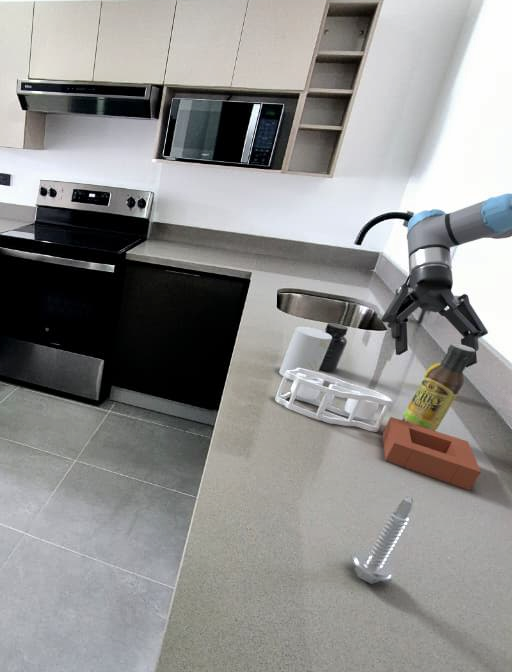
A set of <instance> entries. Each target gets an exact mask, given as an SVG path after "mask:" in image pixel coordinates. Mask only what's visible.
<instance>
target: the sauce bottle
mask: <svg viewBox="0 0 512 672" xmlns="http://www.w3.org/2000/svg"><path fill="white" fill-rule="evenodd" d="M474 353H475V350H474V349H473V348H471V347H468V346H465V345H462V344H461V343H456V342H455V343H454V342H453V343H451V344H449V346H448V348H447V352H446V354H445V356H444V357H443V359H441V362H440V363H441V364H440V365H438V366H437V367H435V368H433V369H431V370H430V371H429V372H428V374H427V376H426V377H425V378H424V377H423V380H422V381H421V383H420V385H419V386H418V388H417V390H416V392H415V394H414V395H413V397H412V399H411V401H410V402H409V404H408V406H407V408H406V409H405V412H404V413H403V415H402V419H401V420H402V421H405V422H408V423H412V424H415V425H418V426H421V427H424V428H427V429H430V430H433V431H437V430H438V428H439V426H440V425H441V423H442V422H443V420H444V418H445V416H446V415H447V413H448V411H449V410H450V408H451V407H452V405H453V403H454V401H455V400H456V399H457V397H458V395H459V392H460V390H461V389H462V388H463V386H464V382H465V377H464V373H463V372H464V370H465V369H466V367H465V366H466V365H467V363H468V361H469V360H470V358H472V357H473V355H474Z"/></svg>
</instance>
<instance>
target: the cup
mask: <svg viewBox="0 0 512 672" xmlns="http://www.w3.org/2000/svg"><path fill="white" fill-rule="evenodd" d="M331 339H332V336H331V335H330V334H328V333H326V331H323V330H321V329H318V328H315V327H314V328H313V327H309V326H296V327H295V329H294V332H293V334H292V337H291V340H290V342H289V345H288V348H287V351H286V353H285V355H284V359H283V361H282V363H281V366H280V368H279V374H280V375H281V376H282V377H284V374H285V373H286V371H287V370H294V369H296V368H303V369H307V370H311V371H315V372H319V371H320V370H319V368H320V366H321V363H322V361H323V359H324V356H325V354H326V351H327V349H328V347H329V344H330V342H331ZM287 380H290V381H292V382H294V380H292V379H289V378H287Z"/></svg>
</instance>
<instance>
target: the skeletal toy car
mask: <svg viewBox="0 0 512 672" xmlns="http://www.w3.org/2000/svg"><path fill="white" fill-rule="evenodd" d="M287 378H289V379H292V380H294V381H292V380H291V381H292V385H291V387H290V391H291V392H290V391H288V392H286V393H284V394H282V393H283V390H284V388H285V385H286V383H287V381H288V380H289V379H287ZM325 381H326V382H329V383H330V384H329V385H328V387H327V386H324V384H325ZM280 382H281V383H280V385H279V387H278V390H277V393H276V394H275V398H274V401H275V402H276V403H278V404H279V405H282V406H284V407H285V408H286V409H288V410H290V411H293V412H296V413H298V414H300V415H303V416H305V417H309V418H311V419H314V420H317V421H321V422H325V423H327V424H331V425H332V424H333V425H339V426H344V427H355V428H356V427H357V428H360V429H363V430H366V431H369V432H372V433H373V432H374V433H377V432H379V429H380V427H381V424H382V422H383V420H384V418H385V417H386V414H387V412H388V410H389V408H390V406H391V405H392V403H393V402H394V401H393V399H391V398H390V397H389V396H387V395H386V394H383V393H381V392H378V391H376V390H374V389H372V388H368V387H364V386H361V385H358V384H353V383H350V382H347V381H344V380H342V379H339V378H337V377H334V376H331V375H328V374H325V373H322V372H319V371H318V372H315V371H311V370H307V369H303V368H296V369H294V370H287V371H286V373H285V374H284V376H282V380H281V381H280ZM320 393H324V395H323V397H322V400H319V399H318V398H319V395H320ZM335 397H338V398H342V399H346V402H345V404H344V406H343V409H342V408H338V407H336V406H333V405H332V403H333V401H334V398H335ZM288 398H289V401H288ZM295 400H298V401H301V402H305V403H308V404H311V405H314V406H317V407H318V409H317V411H316V412H314V411H311V410H308V409H305V408H303V407H300V406H297V405H295V404H294V402H295ZM380 405H381V406H383V407H382V410H381V412H380V414H379V416H378V418H377V420H376V422H375V421H374V420H373V419H374V417H375V415H376V413H377V411H378V409H379V407H380Z"/></svg>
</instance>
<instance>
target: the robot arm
mask: <svg viewBox="0 0 512 672" xmlns="http://www.w3.org/2000/svg"><path fill="white" fill-rule="evenodd" d="M511 237H512V193H510V192H509V193H508V192H507V193H503V194H501V195H497V196H492V197H489V198H487V199H485V200H482V201H479V202H477V203H475V204H472V205H468V206H467V207H466V206H465V207H463V208H460V209H458V210H455V211H453V212H448V213H446V212H445V211H444V210H442V209H437V208H433V209H431V210H428V209H427V210H422V211H419V212H417V213H415V214H414V215H413V216H412V217H411V218H410V219H409V220H408V223H407V232H406V240H407V253H408V272H409V273H408V274H409V280H408V281H409V285H408V284H407V283H403V284H401V286H399V287H398V288H397V289H395V293H394V294H395V295H394V298H393V300H392V301H391V303H390V304H389V306H388V307H387V309H386V311H385V312H384V313H383V315H382V317H381V319H380V321H381V322H382V323H387V327H388V329H391V331H390V332H391V333H390V334H391V338H392V339H394V341H395V342H394V343H395V344H394V345H395V347H394V348H395V355H396V356H400V355H402V354H404V353H406V352H407V351H408V350H409V346H408V342H409V341H408V323H407V322H404V320H405V319H407V318H408V317H409V316H411V314H412V313H414V312H415V311H416V310H417V309H418V308H419V309H420V310H422V311H430V312H432V313H438V314H439V315H440V316H441V317H444V318H445V319H446V320H447V321H448V322H449V323H450V324H451V325H452V326H453V327H454V329H455V330H456V331H458V333H459V334H461V336H462V337H463V338H461V339H460V344H462V345H465V346H468V347H471V348H473V349H474V350H475V353H474V355H473V357H472V358H470V360H469V361H468V363H467V365H466V366H465V368H469V367H471V366H473V365H475V364H476V365H477V363H478V358H477V357H478V356H477V351H479V350H480V349H479V348H480V347H479V339H480V338H482V337H484V336H486V335H488V334H489V331H488V329H487V328H486V326H485V324H484V323H483V321H482V320H481V318H480V316H479V315H478V314H477V312H476V310H475V308H474V307H473V306H472V304H471V302H470V298H469V295H468V294H466V293H463V294H462V295H455V294H454V293H453V291H452V289H453V286H454V285H453V284H454V279H453V271H452V269H453V265H452V256H451V248H454V247H458V246H461V245H463V244H468V243H471V242H474V241H478V240H481V239H494V240H500V239H508V238H511ZM408 296H409V297H410V298H411V299H412V301H413V302H412V303H411V304H410V305H408V307H406V308H405V309H404V310H403V311H402V312H401V313H399V314H398V315H397V316H396V314H397V313H398V311H399V309H400V307H401V305H402V304H403V303H404V301H405V300H406V298H407V297H408ZM447 307H448V309H446V308H447Z"/></svg>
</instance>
